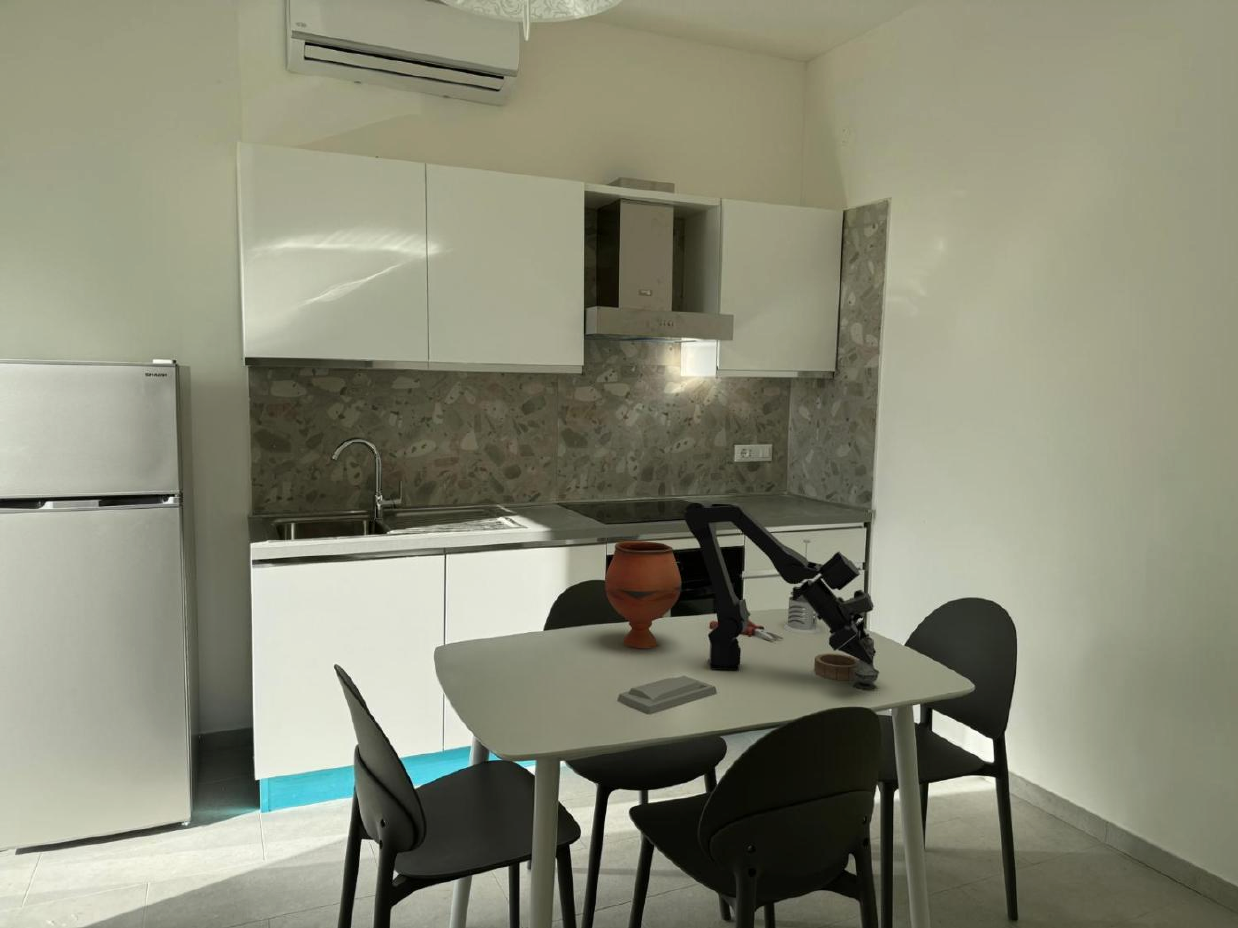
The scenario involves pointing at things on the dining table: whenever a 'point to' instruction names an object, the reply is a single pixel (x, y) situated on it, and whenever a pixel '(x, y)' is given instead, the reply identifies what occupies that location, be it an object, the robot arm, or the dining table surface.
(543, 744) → the dining table surface
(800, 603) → the french press
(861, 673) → the salt shaker
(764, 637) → the pliers
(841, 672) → the shaker socket
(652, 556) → the goblet
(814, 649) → the dining table surface
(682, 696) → the grey stepped rectangular block
